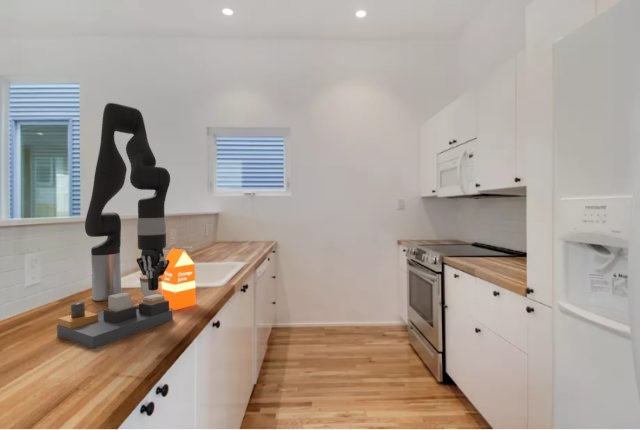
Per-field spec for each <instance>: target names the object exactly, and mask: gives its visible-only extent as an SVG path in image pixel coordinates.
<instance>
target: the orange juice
mask: <svg viewBox="0 0 640 430" xmlns="http://www.w3.org/2000/svg"><path fill="white" fill-rule="evenodd" d="M165 260H169V261H170V263H169V265H168V267H167V269H166V270H165V272H164V274H163V275H162V295H164V297H165V300H168V301H169V309H170V310H175V311H177V310H180V309H184V308H187V307H191V306H195V305H196V303H197V302H196V300H197V299H196V271H195V270H196V267H195V266H196V264H195V262H194V261H193V260H192V258H191V257H190V256H189V254H188V252H186V250H185V249H180V248H174V247H173V248H171V250H169V253H168V254H167V256H166V257H165Z"/></svg>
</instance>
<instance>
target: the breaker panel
mask: <svg viewBox="0 0 640 430" xmlns="http://www.w3.org/2000/svg"><path fill="white" fill-rule="evenodd" d="M97 314H98V321H95V322H92V323H88V324H85V325H82V326H78V327H75V328H72V329H69V328H66V327H63V326H60V325H58V324H56V335H57V337H59V338H62V339H64V340H68V341H71V342H74V343H76V344H78V345H82V346H85V347H86V348H87V347H88V348H90V349H92V350H95V349H97V348H100V347H102V346H106V345H108V344H110V343H111V344H112V343H113V342H115V341H118V340H121V339H124V338H127V337H129V336H132V335H134V334H137V333H141V332H143V331H146V330H148V329H151V328H153V327H156V326H159V325H162V324H164V323H167V322H170V321H172V320H173V309H171V308H169V301H168V300H164V302H161V303H158V304H154V305H148V304H144V302H143V301H142V302H134V303H131V308H128V309H125V310H121V311H118V312H114V311H110V310H109V307H107V308H104V309H103V311H102V312H97Z"/></svg>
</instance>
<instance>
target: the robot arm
mask: <svg viewBox="0 0 640 430" xmlns="http://www.w3.org/2000/svg"><path fill="white" fill-rule="evenodd" d="M146 130H147V129H146V125H145V121H144V117H143V113H142V112H141V111H140V110H139V109H137V108H135V107H131V106H129V105H125V104H120V103H117V102H109V101H108V102H107V103H106V104H105V106H104V110H103V115H102V123H101V133H100V134H101V136H100V145H99V151H98V157H97V162H96V166H95V170H94V171H95V172H94V178H93V186H92V193H91V199H90V202H89V206H88V209H87V212H86V216H85V223H84V231H85V234H86V235H87V236H88V237H90V238H93V237H94V238H101V237H107V238H106V239H105V241H103V242H101V243H99V244H96V245H94V246H92V247H91V252H90V253H91V258H90V259H91V288H92V289H91V291H92V292H91V293H92V300H93V301H98V302H99V301H100V302H101V301H108V296H110V295H114V294H118V293H122V272H121V271H122V270H121V269H122V267H121V246H122V245H121V242H122V241H121V240H122V239H121V236H122V235H121V234H122V233H121V232H122V221H121V217H120V215H119V213H118V212H113V211H112V212H111V211H110V212H103V210H104V208H105V206H106V205H107V204H108V203H109V202H110V201H111V200H112V198H114V197H115V196H116V195H117V194H118V193H119V192H120V191H121V190H122V188H123V187H124V186H125V182H126V181H125V180H126V176H127V170H128V169H127V165H126V163H125V160H124V159H123V157H122V155H121V153H120V151H119V149H118V147H117V144H116V141H115V140H116V139H115V132H119V133H123V134H127V135H128V134H129V135H130V134H131V135H132V136H131V137H130V139H129V140H128V141H127V143H126V146H125V152H126V155H127V158H128V160H129V163H130V177H129V180H130V184H131V185H132V187H134V188H135V189H137V190H140V191H141V190H144V191H146V190H147V191H148V190H149V191H154V193H153V195H152V196H148V197H144V198H143V197H142V198H140V199H139V200H138V201H137V225H136V229H137V231H136V232H137V249H139V250H140V251H141V254H140V255H141V256H140V257H137V258H136V260H135V261H136V263H137V266H138V267H139V270H140V272H141V274H142V275H146V277H147V278H148V289H149V290H151V291H154V290H157V289H158V277H159V276H162V275H163V274H164V272H165V270H166V269H167V267H168V265H169V263H170V261H169V260H165V259H166V257H165V253H164V249H165V248H166V247H167V231H166V230H167V228H166V227H167V226H166V225H167V223H166V220H165V218H166V217H165V215H166V214H165V202H166V198H167V193H168V191H169V188H170V183H171V176H170V175H171V174H170V172H169V171H168V169H166V168H164V167H161V166H156V164H157V159H156V157H155V155H154V153H153V150H152V149H151V146H150V144H149V140H148V134H147V131H146Z"/></svg>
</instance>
